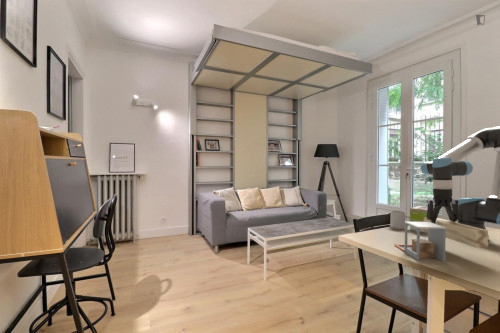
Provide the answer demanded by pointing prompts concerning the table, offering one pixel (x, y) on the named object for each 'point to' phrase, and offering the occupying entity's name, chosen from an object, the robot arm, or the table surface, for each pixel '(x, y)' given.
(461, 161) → the robot arm
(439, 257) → the grey open frame stool
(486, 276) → the table surface
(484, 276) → the table surface
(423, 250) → the block
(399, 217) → the mug
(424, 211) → the tea box
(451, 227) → the wooden beam
